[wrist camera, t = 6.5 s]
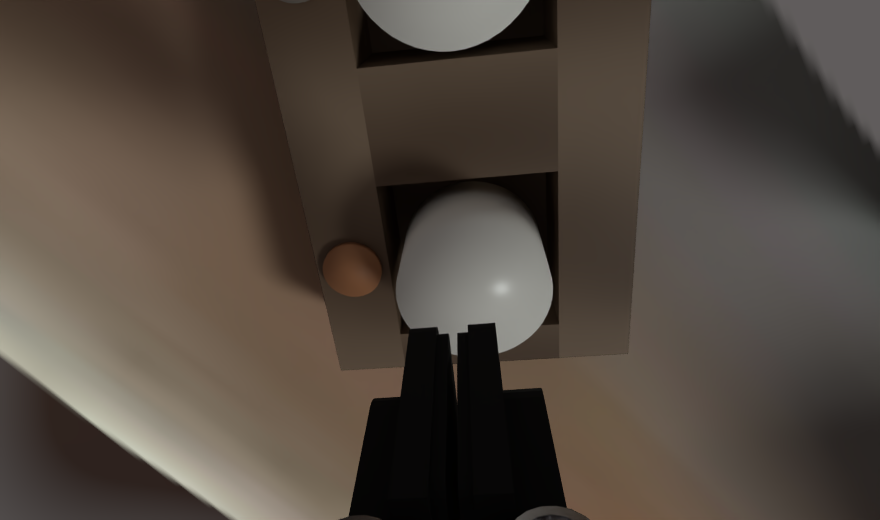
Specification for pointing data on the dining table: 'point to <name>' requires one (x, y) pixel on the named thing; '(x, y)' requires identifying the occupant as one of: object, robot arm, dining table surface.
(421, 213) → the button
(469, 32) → the middle button
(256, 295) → the dining table surface
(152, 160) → the dining table surface
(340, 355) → the button board
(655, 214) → the dining table surface
